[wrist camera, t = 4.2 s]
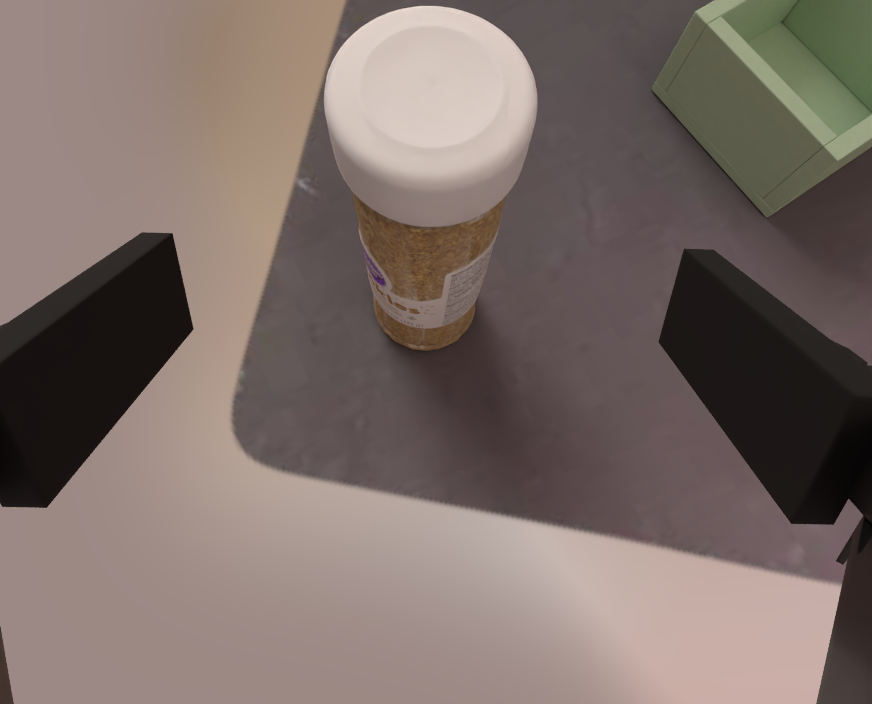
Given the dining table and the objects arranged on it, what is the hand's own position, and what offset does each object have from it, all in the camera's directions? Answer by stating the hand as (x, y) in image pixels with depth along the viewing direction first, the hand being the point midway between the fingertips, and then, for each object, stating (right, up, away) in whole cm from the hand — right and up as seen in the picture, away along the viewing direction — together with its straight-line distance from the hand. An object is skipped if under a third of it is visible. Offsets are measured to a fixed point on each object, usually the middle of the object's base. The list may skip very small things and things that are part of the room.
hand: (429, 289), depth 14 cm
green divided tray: (+20, +13, +13) cm, 27 cm away
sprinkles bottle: (0, 0, +10) cm, 10 cm away
